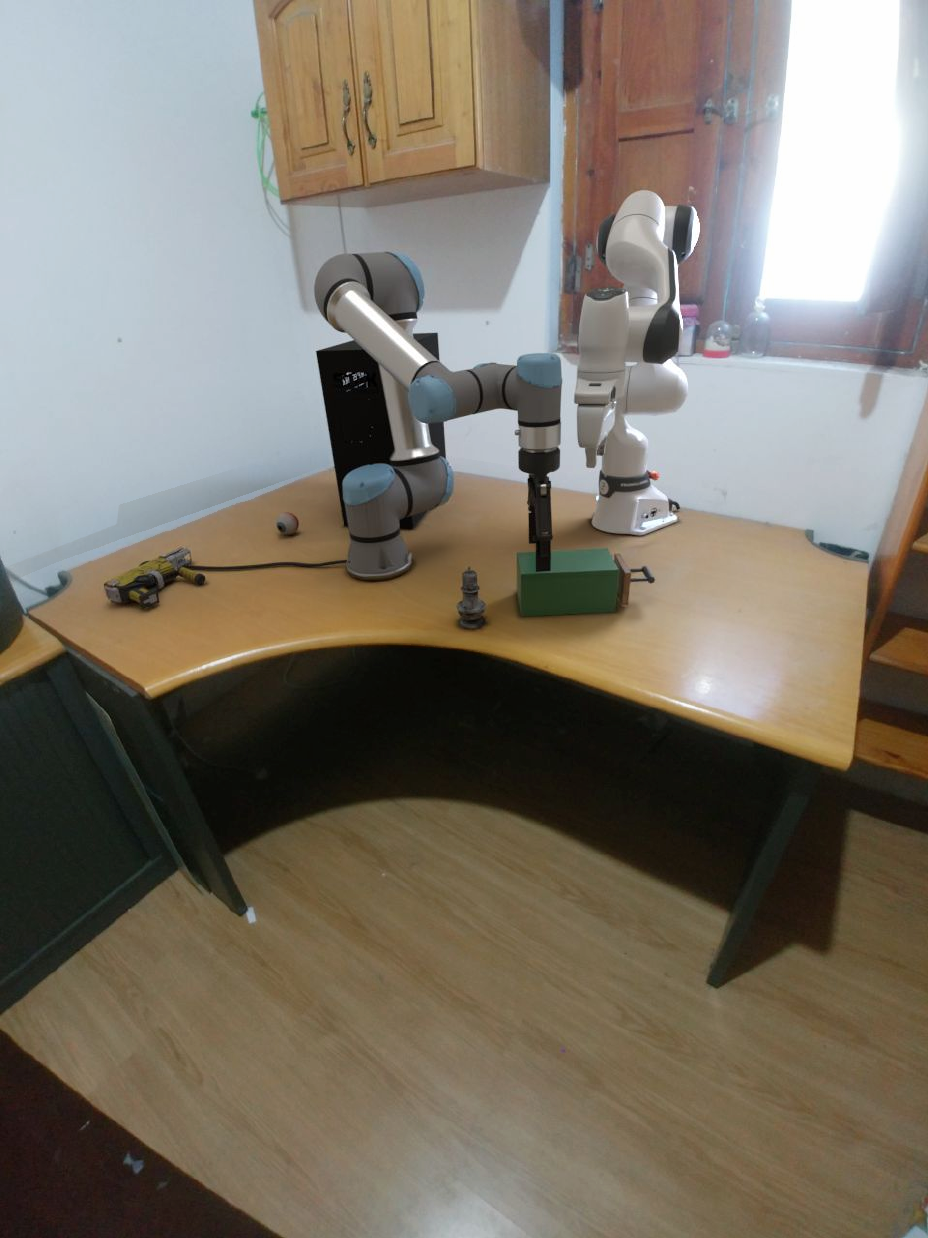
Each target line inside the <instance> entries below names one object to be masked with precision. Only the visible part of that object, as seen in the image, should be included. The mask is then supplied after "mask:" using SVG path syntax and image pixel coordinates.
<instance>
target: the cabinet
mask: <svg viewBox="0 0 928 1238" xmlns="http://www.w3.org/2000/svg"><path fill="white" fill-rule="evenodd" d="M618 572H619V569H618V568H617V566H616V564H615V562H614V557H613V556H612V555H611V552H610V550H609V549H608V547H603V548H601V547H600V548H581V549H563V550H551V571H543V572H536V551H520V552H519V551H517V552H516V595H517V601H518V607H519V613H520V617H537V616H538V617H540V616H560V615H561V616H562V615H563V616H564V615H581V614H585V615H586V614H604V613H606V614H607V613H616V607H617V606H616V605H617V584H618Z"/></svg>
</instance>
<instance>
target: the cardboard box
mask: <svg viewBox="0 0 928 1238" xmlns="http://www.w3.org/2000/svg"><path fill="white" fill-rule="evenodd" d="M413 338H414V339H415V340H416V341H417V342H418V343H419V344H421V345H422V346H423V347H424V348H425V349H426V350H427V351H428V352H429V353H431V354H432V355H433V356H434V357H435V358H436V359H437V360H438V361H439V362H441V361H440V345H439V333H438V332H417V333H414V332H413ZM315 355H316V360H317V367H318V373H319V379H320V386H321V391H322V398H323V404H324V411H325V417H326V422H327V428H328V435H329V441H330V442H329V443H330V448H331V454H332V459H333V460H332V461H333V467H334V472H335V478H336V479H335V480H336V485H337V493H338V497H339V503H340V509H341V516H342V523H343V527H348V521H347V515H346V509H345V503H344V500H343V480H344V478H345V476H346V475H347V474H348V473H350V472H351V471H353V470H355V469H357V468H359V467H362V466H366V465H373V464H378V463H382V464H388V465H390V466H391V462H390V457H391V455H392V454H393V452H394V444H393V438H392V433H391V428H390V423H389V418H388V412H387V407H386V402H385V397H384V391H383V386H382V381H381V376H380V370H379V365H378V362H377V361H376V360H375V359H373V358H372V357H371V356H370V355H369V354H368V353H367V352H366V351H365V350H364V349H363V348H362V347H361V346H360V345H359V344H358V343H357V342H356V341H355V340H354V339H352V340H349V341H346V342H342V343H339V344H335V345H332V346H329V347H325V348H322V349H318V350H315ZM428 428H429V434H430V440H431V444H432V445H433V446H435V447H436V448H437V449H438V450H439V454H440V456H441V457H443V458H445V459H446V460H447V454H446V453H447V451H446V438H445V435H446V434H445V422H442V423H438V422H436V423H429V424H428ZM427 512H429V510H427V511H424V512H421V513H418V514H415V515H412V516H409V517H406V518H403V519H400V520H399V524H400V530H403V529H404V530H414V529H415V528H416V526H417V525H418V524H419V522H420V521H421V520H422V519H423V518H424V516H425V515H426V514H427Z"/></svg>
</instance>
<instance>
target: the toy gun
mask: <svg viewBox="0 0 928 1238" xmlns="http://www.w3.org/2000/svg"><path fill="white" fill-rule="evenodd" d="M188 555H189V557H190V559H188V558H185V557H186V556H188ZM148 561H149V562H147V563H145V564H143V565H141V566H139V565H138V566H137V567H134V568H132V569H130V570H128V571H126V572H124V573H122V574H119V575H117V576H115V577H113V578H111V579H109V580H107V581H105V582H104V583H103V587H104V590H105V595H106V598H107V600H108V601H110V603H112V604H113V603H114V604H115V605H116V604H118V603H119V604H120V603H121V604H126V603H131V602H137V603H139V604H140V608H141V610H146V609H148V608H150V607H152V606H155V605H157V604H160V597H159V593H158V591H159V590H161V589H163V588H164V587H165V583H168V582H170V581H172V580H175V579H177V577H181V578H183V579H185V580H188V581H190V582H193V583H195V584H196V585H202V584H204V583H205V582H206V576H205V575H204V574H203V573H200V572H197V571H194V570H192V569H191V568H184V567H182V566H183V565H184V564H185V565H189V564H191V563H192V562H193V558H192V553H191V550H190V549H189V548H188V547H187V548H186V547H185V548H184V547H183V546H180V547H178V548H177V549H174V550H172V551H171V552H168V553H166V554H164V555H159V556H158V557H156V558H153V559H151V560H148Z"/></svg>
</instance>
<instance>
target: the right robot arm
mask: <svg viewBox="0 0 928 1238" xmlns="http://www.w3.org/2000/svg"><path fill="white" fill-rule="evenodd" d="M699 235H700V222H699V218H698V216H697V211H696V209H695V208H694V206H692V205H687V204H677V206H676V205H664V202H663V200H662V199H661V197H660V196H659V195H658V194H657V193H656V192H654V191H651V190H647V189H640V190H637V191H634V192H632V193H630V194H629V196H627V197H626V198H625V200H624V201H623V202H622V204H621V206H620V207H619V209H618V211H617V212H614V213H613V214H609V215H608V216H605V218H604V219H603V220H601V222H600V224H599V227H598V231H597V234H596V240H595V241H596V242H595V243H596V244H595V245H596V247H595V248H596V251H597V252H596V253H597V255H598V259H599V261H600V263H602V264H603V266H606V267H607V269H608V271H609V272H610V274H611V275H612V276H613V277H614V278H615V279H616V280H617V281H618V282H620V283H622V284H623V286H622V287H618V286H602V287H598V288H594V289H591V290H589V291H587V292H586V293H585V294H584V297H583V300H582V305H581V310H580V318H579V324H578V326H577V350H578V351H579V360H578V364H577V367H576V385H575V390H574V395H573V403H574V404H575V405H577V407H576V437H577V444H578V447H579V448H581V449H584V453H585V467H586V468H587V469H595V468H596V466H597V465H598V456H600V457H601V468H600V470H599V474H598V492H599V493H598V495H596V501H597V502H596V507H595V511H594V514H593V517H592V520H591V525H592V526H593V527H594V528H595V529H597V530H599V531H601V532H605V533H611V534H623V535H625V534H626V535H632V536H633V535H634V536H645V535H646V534H650V533H652V532H654V531H657V530H660V529H662V528H665V527H668V526H670V525H672V524H675V523H677V522H678V516H677V515H676V514H675V513H674V512H672V510H673V506H675V509H676V510H680V509H681V507H680V504H679V502H677V501H675V500H673V499H671V498H669V497H667V496H666V495H665V494H664V493H663V492H661V491H660V490H659V489H658V488H656V487H655V486H654V485H652V483H651V480H653V481H658V479H659V478H660V473H659V472H657V471H654V470H651V471H649V470H648V469H647V466H648V458H649V457H648V456H649V447H650V443H649V440H648V438H647V437H646V435H645V434H644V433H643V432H641V431H640V430H639V429H636V428H634V427H633V426H631V425H630V424H629V422H628V421H627V419H626V416H653V417H654V416H655V417H656V416H662V415H667V414H668V415H669V414H673V413H676V412H678V411H679V409H681V407H682V406H683V405H684V403H685V401H686V399H687V397H688V392H689V382H688V379H687V376H686V374H685V372H684V371H683V370H682V369H681V368H680V367H678V366H677V365H676V364H675V363H674V362H673V361H672V360H671V359H672V358H673V357H675V356H676V354H677V353H679V350H680V348H681V346H682V341H683V336H684V323H683V318H682V314H681V308H680V307H681V306H680V290H679V273H678V268H679V265H681V264H682V263H684V262H685V261H686V260H687V259H688V258H689V257H690V256H691V254H692V253H693V251H694V247H695V246H696V243H697V241H698V238H699ZM626 363H636V364H633V365H626Z"/></svg>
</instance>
